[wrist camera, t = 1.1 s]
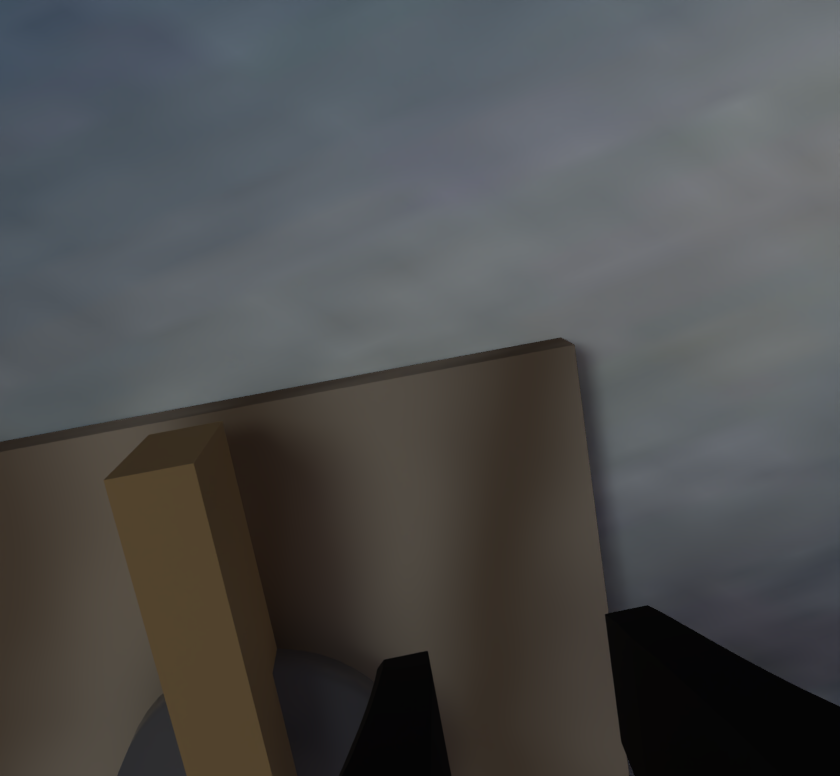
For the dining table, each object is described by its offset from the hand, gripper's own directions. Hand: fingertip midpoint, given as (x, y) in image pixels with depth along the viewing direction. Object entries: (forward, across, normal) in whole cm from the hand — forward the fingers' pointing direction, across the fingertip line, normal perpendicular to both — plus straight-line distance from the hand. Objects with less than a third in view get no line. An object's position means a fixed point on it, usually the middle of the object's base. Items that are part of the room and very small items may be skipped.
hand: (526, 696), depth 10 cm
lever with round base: (+7, +6, +3) cm, 10 cm away
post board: (+9, +6, +6) cm, 12 cm away
